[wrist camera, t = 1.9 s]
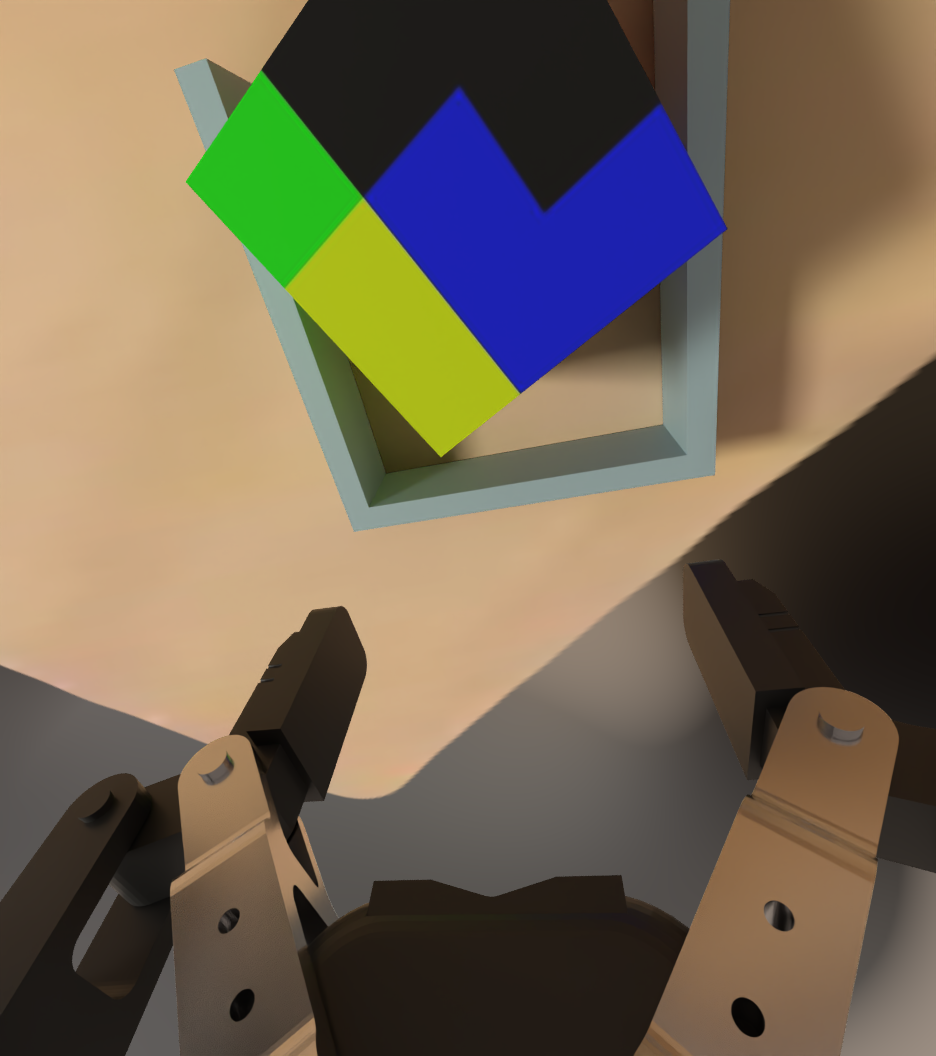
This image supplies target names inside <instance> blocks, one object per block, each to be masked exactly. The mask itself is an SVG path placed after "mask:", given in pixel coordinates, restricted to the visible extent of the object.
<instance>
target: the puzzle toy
mask: <svg viewBox="0 0 936 1056" xmlns="http://www.w3.org/2000/svg"><path fill="white" fill-rule="evenodd" d="M186 183H187V184H188V185H189V186H190V187H191V188H192V189H193V190H194V192H195V193H196V194H197V195H198V196H199V197H200V198H201V199H202V200H203V201H204V202H205V203H206V204H207V206H208V207H209V208H210V209H211V210H212V211H213V212H214V213H215V214H216V215H217V216H218V217H219V218H220V220H221V221H222V222H223V223H224V224H225V225H226V226H227V227H228V228H229V229H230V230H231V231H232V233H233V234H234V235H235V236H236V237H237V238H238V239H239V240H240V241H241V242H242V243H243V244H244V245H245V247H246V248H247V249H248V250H249V251H250V252H251V253H252V254H253V255H254V256H255V257H256V258H257V260H258V261H259V262H260V263H261V264H262V265H263V266H264V267H265V268H266V269H267V270H268V271H269V272H270V274H271V275H272V276H273V277H274V278H275V279H276V280H277V281H278V282H279V283H280V284H281V285H282V286H283V288H284V289H285V290H286V291H287V292H288V293H289V294H290V295H291V296H292V297H293V298H294V299H295V301H296V302H297V303H298V304H299V305H300V306H301V307H302V308H303V309H304V310H305V311H306V312H307V313H308V315H309V316H310V317H311V318H312V319H313V320H314V321H315V322H316V323H317V324H318V325H319V326H320V328H321V329H322V330H323V331H324V332H325V333H326V334H327V335H328V336H329V337H330V338H331V339H332V340H333V342H334V343H335V344H336V345H337V346H338V347H339V348H340V349H341V350H342V351H343V352H344V353H345V354H346V356H347V357H348V358H349V359H350V360H351V361H352V362H353V363H354V364H355V365H356V366H357V367H358V369H359V370H360V371H361V372H362V373H363V374H364V375H365V376H366V377H367V378H368V379H369V380H370V381H371V383H372V384H373V385H374V386H375V387H376V388H377V389H378V390H379V391H380V392H381V393H382V394H383V395H384V397H385V398H386V399H387V400H388V401H389V402H390V403H391V404H392V405H393V406H394V407H395V408H396V410H397V411H398V412H399V413H400V414H401V415H402V416H403V417H404V418H405V419H406V420H407V421H408V422H409V424H410V425H411V426H412V427H413V428H414V429H415V430H416V431H417V432H418V433H419V434H420V435H421V437H422V438H423V439H424V440H425V441H426V442H427V443H428V444H429V445H430V446H431V447H432V448H433V449H434V451H435V452H436V453H437V454H438V455H439V456H440V457H442V456H443V455H444V454H446V453H447V452H448V451H449V450H451V449H452V448H453V447H454V446H456V445H457V444H458V443H459V442H461V441H462V440H463V439H464V438H466V437H467V436H468V435H469V434H471V433H472V432H473V431H474V430H476V429H477V428H478V427H479V426H481V425H482V424H483V423H485V422H486V421H487V420H488V419H490V418H491V417H492V416H493V415H495V414H496V413H497V412H498V411H500V410H501V409H502V408H503V407H505V406H506V405H507V404H508V403H510V402H511V401H512V400H513V399H515V398H516V397H517V396H518V395H520V394H521V393H522V392H523V391H525V390H526V389H527V388H528V387H530V386H531V385H532V384H534V383H535V382H536V381H537V380H539V379H540V378H541V377H542V376H544V375H545V374H546V373H547V372H549V371H550V370H551V369H552V368H554V367H555V366H556V365H557V364H559V363H560V362H561V361H562V360H564V359H565V358H566V357H567V356H569V355H570V354H571V353H572V352H574V351H575V350H576V349H577V348H579V347H580V346H581V345H583V344H584V343H585V342H586V341H588V340H589V339H590V338H591V337H593V336H594V335H595V334H596V333H598V332H599V331H600V330H601V329H603V328H604V327H605V326H606V325H608V324H609V323H610V322H611V321H613V320H614V319H615V318H616V317H618V316H619V315H620V314H621V313H623V312H624V311H625V310H626V309H628V308H629V307H630V306H632V305H633V304H634V303H635V302H637V301H638V300H639V299H640V298H642V297H643V296H644V295H645V294H647V293H648V292H649V291H650V290H652V289H653V288H654V287H655V286H657V285H658V284H659V283H660V282H662V281H663V280H664V279H665V278H667V277H668V276H669V275H670V274H672V273H673V272H674V271H675V270H677V269H678V268H679V267H680V266H682V265H683V264H684V263H686V262H687V261H688V260H689V259H691V258H692V257H693V256H694V255H696V254H697V253H698V252H699V251H701V250H702V249H703V248H704V247H706V246H707V245H708V244H709V243H711V242H712V241H713V240H714V239H716V238H717V237H718V236H719V235H721V234H722V233H723V232H724V231H726V230H727V227H726V225H725V223H724V221H723V219H722V217H721V215H720V214H719V212H718V210H717V208H716V206H715V204H714V202H713V200H712V198H711V196H710V195H709V193H708V191H707V189H706V187H705V185H704V183H703V181H702V179H701V178H700V176H699V174H698V172H697V170H696V168H695V166H694V164H693V162H692V161H691V159H690V157H689V155H688V153H687V151H686V149H685V147H684V145H683V143H682V142H681V140H680V138H679V136H678V134H677V132H676V130H675V128H674V126H673V125H672V123H671V121H670V119H669V117H668V115H667V113H666V111H665V109H664V107H663V106H662V104H661V102H660V100H659V98H658V96H657V94H656V92H655V90H654V89H653V87H652V85H651V83H650V81H649V79H648V77H647V75H646V73H645V71H644V70H643V68H642V66H641V64H640V62H639V60H638V58H637V56H636V54H635V53H634V51H633V49H632V47H631V45H630V43H629V41H628V39H627V37H626V36H625V34H624V32H623V30H622V28H621V26H620V24H619V22H618V20H617V18H616V17H615V15H614V13H613V11H612V9H611V7H610V5H609V3H608V1H607V0H308V2H307V3H306V4H305V6H304V7H303V9H302V10H301V12H300V13H299V15H298V16H297V18H296V19H295V21H294V22H293V24H292V25H291V27H290V28H289V30H288V31H287V33H286V34H285V36H284V37H283V39H282V40H281V41H280V43H279V44H278V46H277V47H276V49H275V50H274V52H273V53H272V55H271V56H270V58H269V59H268V61H267V62H266V64H265V65H264V67H263V68H262V70H261V71H260V73H259V74H258V76H257V77H256V78H255V80H254V81H253V83H252V84H251V86H250V87H249V89H248V90H247V92H246V93H245V95H244V96H243V98H242V99H241V101H240V102H239V104H238V105H237V107H236V108H235V110H234V111H233V112H232V114H231V115H230V117H229V118H228V120H227V121H226V123H225V124H224V126H223V127H222V129H221V130H220V132H219V133H218V135H217V136H216V138H215V139H214V141H213V142H212V144H211V145H210V147H209V148H208V149H207V151H206V152H205V154H204V155H203V157H202V158H201V160H200V161H199V163H198V164H197V166H196V167H195V169H194V170H193V172H192V173H191V175H190V176H189V178H188V179H187V181H186Z"/></svg>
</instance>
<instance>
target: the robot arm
mask: <svg viewBox="0 0 936 1056" xmlns="http://www.w3.org/2000/svg"><path fill="white" fill-rule="evenodd" d="M683 619H684V627H685V632H686V636H687V640H688V643H689V646H690V648H691V650H692V653H693V655H694V657H695V660H696V662H697V664H698V667H699V669H700V671H701V674H702V676H703V678H704V681H705V683H706V685H707V688H708V690H709V692H710V695H711V697H712V699H713V702H714V704H715V706H716V709H717V711H718V713H719V716H720V718H721V720H722V723H723V725H724V727H725V730H726V732H727V734H728V737H729V739H730V741H731V744H732V746H733V749H734V751H735V753H736V755H737V758H738V760H739V763H740V765H741V767H742V769H743V772H744V774H745V777H746V778H747V780H754V779H758V782H757V784H756V787H755V789H754V791H753V793H752V795H751V796H750V795H747V796H746V797H745V798H744V800H743V802H742V804H741V806H740V808H739V810H738V813H737V815H736V817H735V820H734V822H733V825H732V827H731V830H730V832H729V834H728V837H727V839H726V842H725V844H724V847H723V849H722V852H721V854H720V857H719V859H718V862H717V864H716V866H715V869H714V871H713V874H712V876H711V878H710V881H709V883H708V886H707V888H706V891H705V893H704V896H703V898H702V900H701V903H700V905H699V908H698V910H697V913H696V915H695V917H694V920H693V922H692V925H691V927H690V929H689V928H688V927H687V926H685V925H684V924H682V923H681V922H680V921H678V920H677V919H676V918H674V917H673V916H671V915H669V914H668V913H666V912H664V911H662V910H661V909H659V908H657V907H655V906H653V905H650V904H648V903H646V902H643V901H641V900H638V899H634V898H631V897H627V896H625V894H624V888H623V882H622V876H621V875H612V876H572V877H570V876H569V877H554V878H551V879H549V880H545V881H542V882H539V883H536V884H533V885H530V886H527V887H524V888H521V889H517V890H514V891H511V892H508V893H505V894H502V895H499V896H495V897H488V896H484V895H480V894H477V893H473V892H470V891H467V890H463V889H460V888H457V887H453V886H450V885H447V884H443V883H440V882H436V881H433V880H398V881H374V883H373V888H372V893H371V897H370V902H369V903H367V904H364V905H362V906H360V907H358V908H356V909H354V910H352V911H350V912H349V913H347V914H346V915H344V916H342V917H341V918H338V916H337V914H336V913H335V911H334V909H333V907H332V904H331V902H330V900H329V898H328V895H327V892H326V890H325V886H324V884H323V881H322V878H321V875H320V872H319V869H318V866H317V863H316V860H315V857H314V854H313V851H312V848H311V845H310V842H309V840H308V837H307V834H306V831H305V828H304V825H303V822H302V820H301V818H300V817H299V813H300V811H301V808H302V805H303V803H304V802H310V801H324V799H325V796H326V793H327V790H328V787H329V784H330V781H331V778H332V775H333V772H334V769H335V766H336V763H337V760H338V757H339V754H340V751H341V748H342V745H343V742H344V739H345V736H346V733H347V730H348V727H349V724H350V721H351V718H352V715H353V712H354V709H355V706H356V703H357V700H358V697H359V694H360V691H361V688H362V685H363V682H364V679H365V676H366V670H367V661H366V654H365V651H364V648H363V646H362V644H361V641H360V639H359V637H358V634H357V632H356V630H355V627H354V625H353V623H352V620H351V618H350V616H349V613H348V611H347V610H346V609H345V608H344V607H343V606H339V607H331V608H323V609H315V610H312V611H311V612H310V613H309V615H308V617H307V619H306V620H305V622H304V624H303V626H302V628H301V630H300V632H294V633H293V634H292V635H291V636H290V637H289V638H288V639H287V640H286V641H285V642H284V643H283V644H282V645H281V646H280V647H279V648H278V649H277V651H276V653H275V655H274V656H273V658H272V660H271V662H270V663H269V665H268V666H269V668H268V669H266V671H265V672H264V674H263V676H262V678H261V679H260V680H261V683H258V685H257V686H256V688H255V690H254V692H253V694H252V695H251V697H250V699H249V701H248V702H247V704H246V706H245V708H244V709H243V711H242V713H241V715H240V717H239V718H238V720H237V722H236V724H235V725H234V727H233V729H232V731H231V732H230V734H229V736H225V737H222V738H219V739H217V740H215V741H213V742H211V743H209V744H208V745H206V746H205V747H203V748H202V749H201V750H200V751H198V752H197V753H196V754H195V755H194V756H193V757H192V758H191V759H190V761H189V762H188V763H187V764H186V766H185V767H184V769H183V771H182V773H181V774H180V775H177V776H174V777H171V778H169V779H166V780H163V781H160V782H158V783H155V784H152V785H150V786H147V787H143V786H142V785H141V783H140V782H139V781H138V780H137V779H136V778H135V777H134V776H133V775H131V774H127V773H125V774H117V775H113V776H111V777H108V778H106V779H104V780H102V781H100V782H98V783H97V784H95V785H93V786H92V787H91V788H89V789H88V790H87V791H85V792H84V793H83V794H82V795H81V796H80V797H78V799H76V801H75V802H73V804H72V805H71V806H70V807H69V808H68V810H67V811H66V812H65V814H64V815H63V816H62V818H61V819H60V821H59V822H58V823H57V825H56V826H55V827H54V829H53V830H52V831H51V833H50V834H49V836H48V837H47V838H46V840H45V841H44V843H43V844H42V845H41V847H40V848H39V849H38V851H37V852H36V854H35V855H34V856H33V858H32V859H31V860H30V862H29V863H28V865H27V866H26V867H25V869H24V870H23V872H22V873H21V874H20V876H19V877H18V879H17V880H16V881H15V883H14V884H13V885H12V887H11V888H10V890H9V891H8V892H7V894H6V895H5V896H4V898H3V899H2V901H1V902H0V1056H125V1054H126V1052H127V1050H128V1048H129V1045H130V1043H131V1041H132V1038H133V1036H134V1034H135V1031H136V1029H137V1027H138V1024H139V1022H140V1020H141V1018H142V1015H143V1013H144V1011H145V1008H146V1006H147V1004H148V1001H149V999H150V997H151V994H152V992H153V990H154V988H155V985H156V983H157V981H158V978H159V976H160V974H161V972H162V969H163V967H164V965H165V962H166V960H167V958H168V955H169V953H170V951H171V948H172V946H173V951H174V966H175V983H176V997H177V1014H178V1030H179V1046H180V1056H840V1054H841V1049H842V1043H843V1038H844V1033H845V1028H846V1023H847V1018H848V1013H849V1008H850V1003H851V998H852V993H853V988H854V983H855V978H856V973H857V967H858V962H859V958H860V952H861V948H862V942H863V937H864V932H865V927H866V922H867V917H868V912H869V907H870V902H871V897H872V892H873V887H874V881H875V876H876V871H877V862H878V859H877V858H876V857H878V858H882V859H885V860H889V861H893V862H896V863H900V864H904V865H908V866H911V867H915V868H919V869H923V870H927V871H930V872H934V873H936V729H931V728H925V727H919V726H913V725H909V724H904V723H901V722H898V721H894V720H891V719H890V717H889V716H888V715H887V714H886V713H885V712H884V711H883V710H882V709H880V708H879V707H878V706H877V705H875V704H874V703H872V702H871V701H869V700H867V699H865V698H863V697H861V696H859V695H857V694H854V693H851V692H849V691H846V690H845V689H844V688H843V687H842V685H841V684H840V683H839V681H838V680H837V678H836V677H835V676H834V675H833V673H832V672H831V670H830V669H829V667H828V666H827V665H826V663H825V662H824V661H823V659H822V658H821V657H820V655H819V654H818V652H817V651H816V650H815V648H814V647H813V645H812V644H811V643H810V641H809V640H808V639H807V637H806V636H805V634H804V633H803V632H802V630H799V628H798V625H797V624H796V622H795V621H794V619H793V618H792V617H791V615H788V611H787V610H786V608H785V607H784V606H783V604H782V603H781V601H780V600H779V599H778V598H777V596H776V594H775V593H773V592H772V591H770V590H769V589H767V588H766V587H764V586H762V585H761V584H759V583H758V582H756V581H755V580H753V579H751V580H741V581H736V579H735V577H734V576H733V574H732V573H731V571H730V570H729V568H728V567H727V565H726V563H725V562H724V561H723V560H721V559H719V560H711V561H703V562H695V563H687V564H685V565H684V569H683ZM108 885H110V886H111V887H112V888H113V889H114V890H115V891H116V892H117V893H119V894H118V896H117V897H116V899H115V901H114V903H113V905H112V907H111V908H110V910H109V912H108V914H107V916H106V917H105V919H104V921H103V923H102V925H101V927H100V928H99V930H98V932H97V934H96V935H95V937H94V939H93V941H92V943H91V945H90V946H89V948H88V950H87V952H86V954H85V955H84V957H83V959H82V961H81V963H80V965H79V966H78V968H77V970H76V972H75V971H74V969H73V965H72V955H73V950H74V946H75V944H76V941H77V939H78V937H79V935H80V933H81V932H82V930H83V928H84V926H85V925H86V923H87V921H88V919H89V918H90V916H91V914H92V912H93V911H94V909H95V907H96V906H97V904H98V902H99V900H100V899H101V897H102V895H103V893H104V891H105V890H106V888H107V886H108Z"/></svg>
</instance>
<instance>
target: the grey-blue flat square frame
mask: <svg viewBox="0 0 936 1056" xmlns="http://www.w3.org/2000/svg"><path fill="white" fill-rule="evenodd" d="M653 12H654V54H655V92H656V94H657V96H658V98H659V100H660V102H661V104H662V106H663V107H664V109H665V111H666V113H667V115H668V117H669V119H670V121H671V123H672V125H673V126H674V128H675V130H676V132H677V134H678V136H679V138H680V140H681V142H682V143H683V145H684V147H685V149H686V151H687V153H688V155H689V157H690V159H691V161H692V162H693V164H694V166H695V168H696V170H697V172H698V174H699V176H700V178H701V179H702V181H703V183H704V185H705V187H706V189H707V191H708V193H709V195H710V196H711V198H712V200H713V202H714V204H715V206H716V208H717V210H718V212H719V214H720V215H721V217H722V219H723V207H724V175H725V144H726V112H727V81H728V50H729V18H730V0H653ZM174 71H175V73H176V76H177V78H178V81H179V84H180V86H181V89H182V91H183V94H184V96H185V99H186V102H187V104H188V107H189V109H190V112H191V114H192V117H193V120H194V122H195V125H196V127H197V130H198V132H199V135H200V137H201V140H202V143H203V145H204V148H205V150H206V151H207V149H208V148H209V147H210V145H211V144H212V142H213V141H214V139H215V138H216V136H217V135H218V133H219V132H220V130H221V129H222V127H223V126H224V124H225V123H226V121H227V120H228V118H229V117H230V115H231V114H232V112H233V111H234V110H235V108H236V107H237V105H238V104H239V102H240V101H241V99H242V98H243V96H244V95H245V93H246V92H247V90H248V89H249V87H250V86H251V83H249V82H248V81H246V80H244V79H242V78H240V77H239V76H237V75H235V74H233V73H231V72H230V71H228V70H226V69H224V68H222V67H221V66H219V65H217V64H215V63H213V62H212V61H210V60H208V59H203V60H200V61H197V62H194V63H191V64H189V65H186V66H183V67H180V68H177V69H174ZM722 238H723V233H722V234H721V235H719V236H718V237H717V238H716V239H714V240H713V241H712V242H711V243H709V244H708V245H707V246H706V247H704V248H703V249H702V250H701V251H699V252H698V253H697V254H696V255H694V256H693V257H692V258H691V259H689V260H688V261H687V262H686V263H684V264H683V265H682V266H680V267H679V268H678V269H677V270H675V271H674V272H673V273H672V274H670V275H669V276H668V277H667V278H665V279H664V280H663V281H662V282H660V308H661V350H662V392H663V425H658V426H653V427H647V428H641V429H636V430H630V431H624V432H619V433H613V434H607V435H602V436H596V437H590V438H585V439H579V440H573V441H568V442H562V443H556V444H551V445H545V446H539V447H534V448H528V449H522V450H517V451H511V452H505V453H500V454H494V455H489V456H483V457H477V458H472V459H466V460H460V461H455V462H449V463H443V464H438V465H432V466H426V467H421V468H415V469H409V470H404V471H398V472H392V473H387V474H386V472H385V469H384V466H383V463H382V460H381V457H380V454H379V451H378V448H377V445H376V442H375V439H374V436H373V433H372V430H371V427H370V424H369V420H368V417H367V414H366V411H365V408H364V405H363V402H362V399H361V396H360V393H359V390H358V387H357V384H356V381H355V378H354V375H353V372H352V369H351V366H350V363H349V360H348V357H347V356H346V354H345V353H344V352H343V351H342V350H341V349H340V348H339V347H338V346H337V345H336V344H335V343H334V342H333V340H332V339H331V338H330V337H329V336H328V335H327V334H326V333H325V332H324V331H323V330H322V329H321V328H320V326H319V325H318V324H317V323H316V322H315V321H314V320H313V319H312V318H311V317H310V316H309V315H308V313H307V312H306V311H305V310H304V309H303V308H302V307H301V306H300V305H299V304H298V303H297V302H296V301H295V299H294V298H293V297H292V296H291V295H290V294H289V293H288V292H287V291H286V290H285V289H284V288H283V286H282V285H281V284H280V283H279V282H278V281H277V280H276V279H275V278H274V277H273V276H272V275H271V274H270V272H269V271H268V270H267V269H266V268H265V267H264V266H263V265H262V264H261V263H260V262H259V261H258V260H257V258H256V257H255V256H254V255H253V254H252V253H251V252H250V251H249V250H248V249H247V248H246V247H245V245H244V244H243V243H242V242H241V243H242V245H243V248H244V250H245V253H246V256H247V258H248V261H249V263H250V266H251V268H252V271H253V273H254V276H255V279H256V281H257V284H258V286H259V289H260V291H261V294H262V297H263V299H264V302H265V304H266V307H267V309H268V312H269V315H270V317H271V320H272V322H273V325H274V327H275V330H276V333H277V335H278V338H279V340H280V343H281V345H282V348H283V350H284V353H285V356H286V358H287V361H288V363H289V366H290V368H291V371H292V374H293V376H294V379H295V381H296V384H297V386H298V389H299V392H300V394H301V397H302V399H303V402H304V404H305V407H306V410H307V412H308V415H309V417H310V420H311V422H312V425H313V427H314V430H315V433H316V435H317V438H318V440H319V443H320V445H321V448H322V451H323V453H324V456H325V458H326V461H327V463H328V466H329V469H330V471H331V474H332V476H333V479H334V481H335V484H336V487H337V489H338V492H339V494H340V497H341V499H342V502H343V504H344V507H345V510H346V512H347V515H348V517H349V520H350V522H351V525H352V528H353V530H354V532H355V531H362V530H368V529H374V528H381V527H387V526H393V525H400V524H406V523H412V522H419V521H425V520H431V519H438V518H444V517H451V516H457V515H463V514H470V513H476V512H482V511H489V510H495V509H501V508H508V507H514V506H520V505H527V504H533V503H539V502H546V501H552V500H559V499H565V498H571V497H578V496H584V495H590V494H597V493H603V492H609V491H616V490H622V489H628V488H635V487H641V486H648V485H654V484H660V483H667V482H673V481H679V480H686V479H692V478H698V477H705V476H711V475H715V457H716V426H717V395H718V363H719V332H720V301H721V269H722Z"/></svg>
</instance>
